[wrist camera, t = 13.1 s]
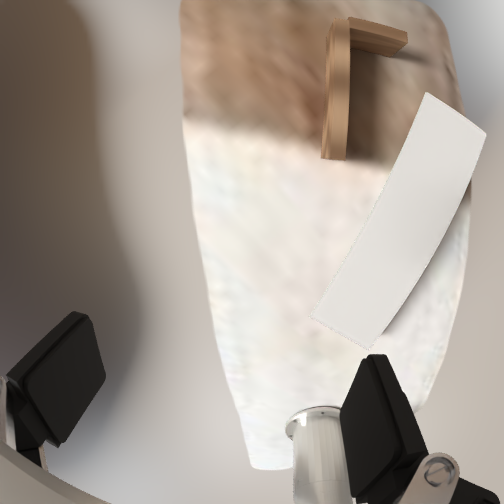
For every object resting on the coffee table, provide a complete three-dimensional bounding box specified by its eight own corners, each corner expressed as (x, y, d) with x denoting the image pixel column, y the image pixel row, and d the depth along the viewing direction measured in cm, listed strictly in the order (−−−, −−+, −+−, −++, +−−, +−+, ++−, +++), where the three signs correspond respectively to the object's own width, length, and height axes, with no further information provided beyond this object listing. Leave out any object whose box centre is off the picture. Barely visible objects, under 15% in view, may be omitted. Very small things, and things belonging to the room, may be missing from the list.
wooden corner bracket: (386, 168, 32) (405, 171, 26) (320, 158, 32) (329, 158, 27) (389, 47, 26) (406, 32, 20) (326, 33, 27) (334, 13, 21)
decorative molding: (313, 303, 42) (367, 334, 40) (308, 316, 37) (368, 350, 36) (418, 102, 31) (473, 139, 29) (425, 91, 26) (486, 134, 24)
